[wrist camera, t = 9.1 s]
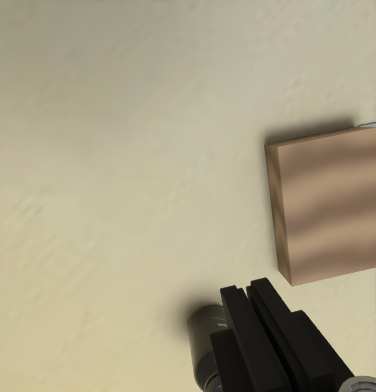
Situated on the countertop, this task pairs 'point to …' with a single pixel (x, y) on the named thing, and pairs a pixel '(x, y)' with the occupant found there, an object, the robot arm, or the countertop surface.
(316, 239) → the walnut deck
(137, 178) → the countertop surface
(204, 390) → the supplement bottle
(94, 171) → the countertop surface
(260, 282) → the robot arm
